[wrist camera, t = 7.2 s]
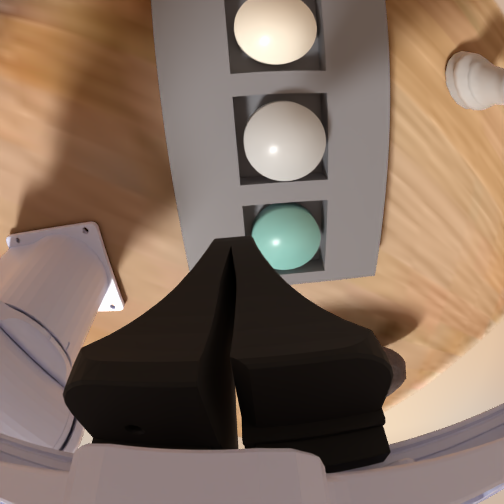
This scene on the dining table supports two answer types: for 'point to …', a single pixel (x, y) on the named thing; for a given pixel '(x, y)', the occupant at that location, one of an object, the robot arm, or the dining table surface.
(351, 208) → the button board
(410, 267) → the dining table surface
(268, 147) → the grey button
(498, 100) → the rook chess piece
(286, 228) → the teal button
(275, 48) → the cream button
